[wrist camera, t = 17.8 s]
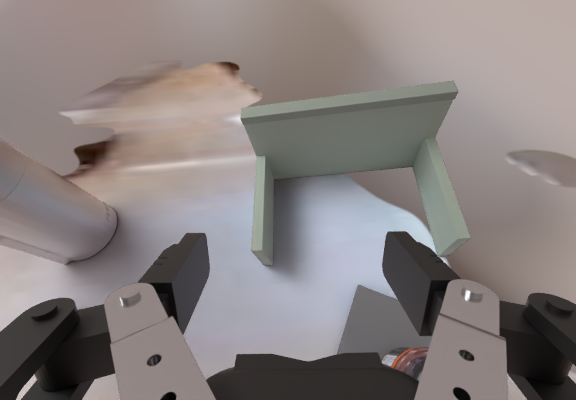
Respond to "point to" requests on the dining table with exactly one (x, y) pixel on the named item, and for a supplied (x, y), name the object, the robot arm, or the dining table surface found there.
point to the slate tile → (378, 325)
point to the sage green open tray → (356, 151)
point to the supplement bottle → (407, 360)
